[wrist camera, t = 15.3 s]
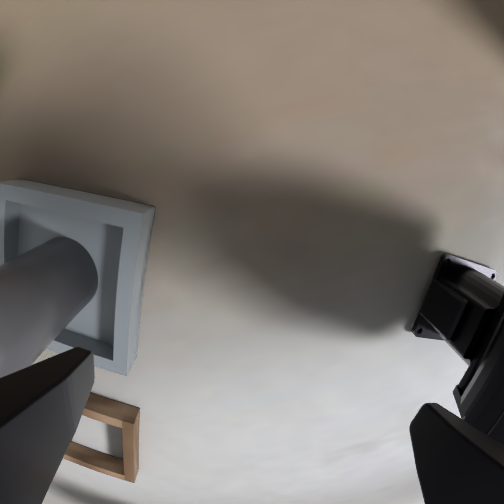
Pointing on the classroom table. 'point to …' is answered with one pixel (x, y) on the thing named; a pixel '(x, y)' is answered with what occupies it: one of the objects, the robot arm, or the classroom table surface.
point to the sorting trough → (102, 252)
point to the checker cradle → (129, 423)
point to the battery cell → (41, 298)
